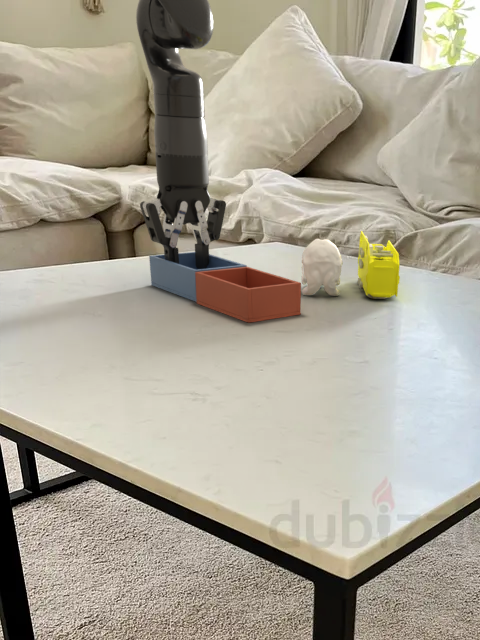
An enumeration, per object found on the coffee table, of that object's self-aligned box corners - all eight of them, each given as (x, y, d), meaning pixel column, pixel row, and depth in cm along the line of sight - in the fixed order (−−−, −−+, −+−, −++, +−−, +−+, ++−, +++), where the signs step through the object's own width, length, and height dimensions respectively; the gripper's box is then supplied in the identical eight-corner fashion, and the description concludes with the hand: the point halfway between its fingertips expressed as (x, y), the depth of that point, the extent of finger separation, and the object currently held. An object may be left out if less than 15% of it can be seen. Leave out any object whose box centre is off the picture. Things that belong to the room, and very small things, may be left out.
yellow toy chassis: (354, 279, 137) (357, 229, 133) (387, 280, 137) (390, 230, 133) (363, 300, 123) (365, 245, 119) (398, 301, 123) (402, 247, 119)
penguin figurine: (302, 239, 117) (298, 234, 128) (302, 297, 120) (297, 288, 131) (344, 241, 118) (336, 236, 129) (342, 298, 121) (335, 289, 132)
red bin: (248, 322, 106) (247, 289, 104) (196, 303, 114) (195, 272, 112) (300, 314, 112) (301, 282, 110) (248, 296, 120) (247, 266, 118)
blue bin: (196, 302, 115) (194, 270, 113) (151, 285, 123) (149, 255, 120) (247, 295, 121) (247, 265, 119) (201, 279, 128) (200, 251, 126)
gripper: (208, 149, 121) (212, 262, 129) (123, 147, 112) (133, 270, 120) (237, 153, 117) (239, 270, 125) (151, 152, 107) (159, 279, 115)
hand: (187, 269), depth 122 cm, fingers open, 4 cm apart
